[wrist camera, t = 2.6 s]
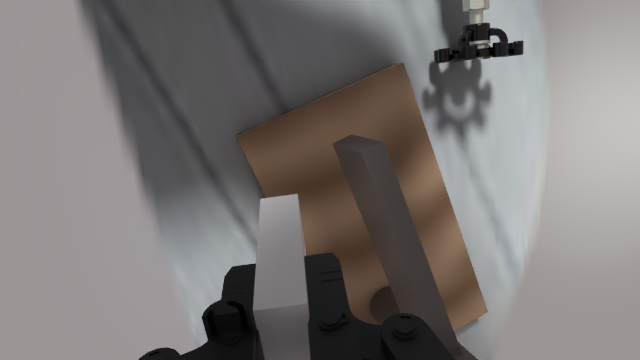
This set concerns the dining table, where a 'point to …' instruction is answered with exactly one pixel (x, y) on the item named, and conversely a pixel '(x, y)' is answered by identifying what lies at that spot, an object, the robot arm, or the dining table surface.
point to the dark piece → (394, 240)
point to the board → (337, 198)
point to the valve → (478, 38)
